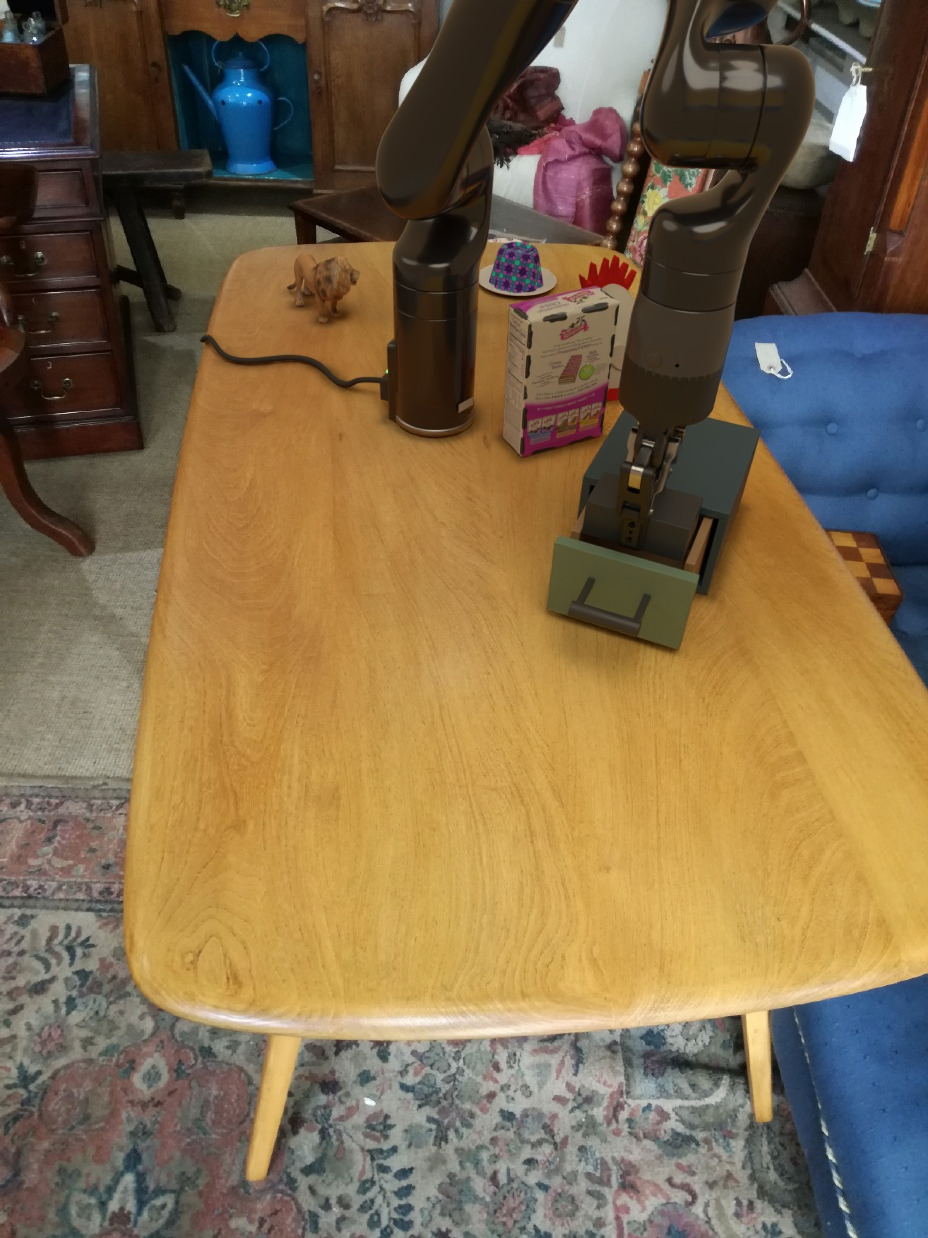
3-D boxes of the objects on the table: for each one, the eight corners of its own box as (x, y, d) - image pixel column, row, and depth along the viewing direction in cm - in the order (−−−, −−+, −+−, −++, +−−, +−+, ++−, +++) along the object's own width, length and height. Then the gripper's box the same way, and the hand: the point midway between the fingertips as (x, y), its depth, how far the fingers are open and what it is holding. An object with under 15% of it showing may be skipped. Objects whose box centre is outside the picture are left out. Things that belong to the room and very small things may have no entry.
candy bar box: (579, 416, 112) (597, 283, 101) (602, 437, 109) (623, 301, 98) (498, 437, 108) (507, 301, 97) (520, 459, 105) (531, 320, 94)
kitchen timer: (520, 361, 122) (530, 246, 111) (605, 339, 127) (621, 227, 117) (583, 411, 113) (599, 291, 103) (671, 384, 118) (695, 268, 108)
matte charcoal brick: (581, 533, 82) (586, 500, 79) (598, 503, 85) (603, 470, 83) (681, 562, 79) (690, 529, 77) (695, 529, 83) (703, 497, 80)
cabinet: (706, 595, 89) (729, 514, 82) (571, 556, 92) (583, 475, 86) (739, 507, 99) (761, 429, 93) (616, 475, 103) (629, 398, 96)
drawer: (664, 687, 79) (682, 620, 73) (527, 643, 82) (534, 575, 77) (714, 555, 92) (732, 490, 86) (594, 522, 95) (604, 457, 90)
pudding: (568, 277, 142) (572, 242, 138) (537, 307, 134) (540, 271, 130) (496, 261, 145) (498, 226, 142) (462, 289, 137) (463, 253, 134)
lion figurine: (367, 321, 129) (364, 256, 122) (337, 333, 126) (332, 267, 120) (301, 287, 136) (296, 224, 130) (271, 297, 133) (264, 233, 127)
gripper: (703, 404, 64) (659, 589, 76) (744, 321, 74) (699, 496, 86) (599, 379, 66) (572, 563, 78) (652, 301, 76) (621, 475, 88)
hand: (639, 527), depth 82 cm, fingers closed on matte charcoal brick, 5 cm apart
